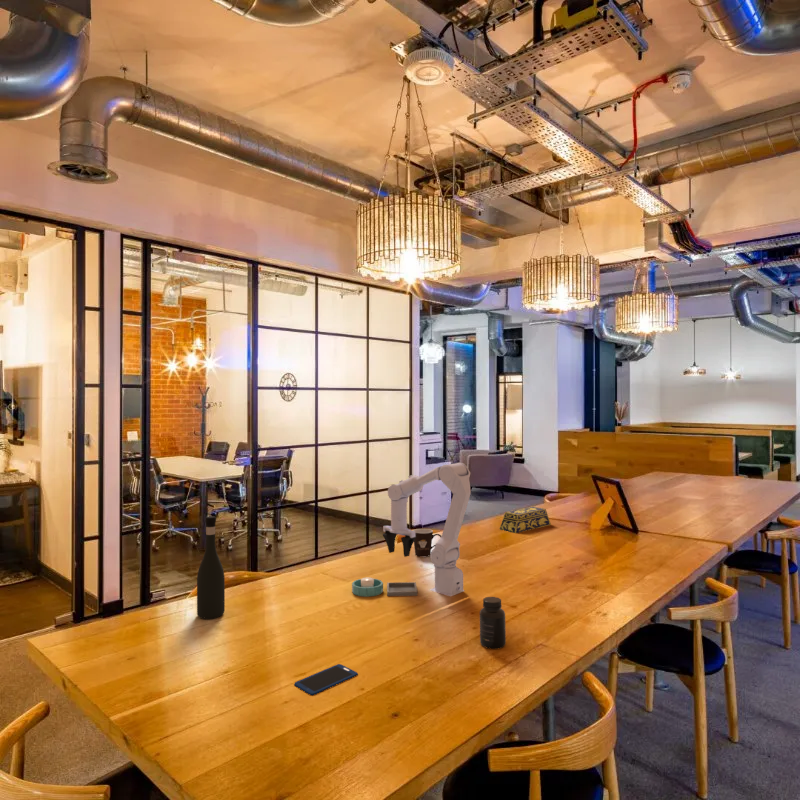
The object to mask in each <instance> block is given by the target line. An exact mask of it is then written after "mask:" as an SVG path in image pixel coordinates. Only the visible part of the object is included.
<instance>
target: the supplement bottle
mask: <svg viewBox="0 0 800 800" xmlns="http://www.w3.org/2000/svg"><path fill="white" fill-rule="evenodd" d="M506 635H507V634H506V613H505V610H504V609H502V599H501V598H500V597H497V596H487V597H484V598H483V600H482V608H481V609H480V610H479V641H480V645H481V646H483V648H486V647H487V648H486V649H490V648H491V649H492V650H497V649H498V648H499V649H502V648H505V645H506V643H507V641H506V640H507V639H506ZM491 649H490V650H491Z"/></svg>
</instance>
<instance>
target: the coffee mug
mask: <svg viewBox="0 0 800 800" xmlns="http://www.w3.org/2000/svg"><path fill="white" fill-rule="evenodd" d="M412 531H415V537H416V539H415V540H414V542H413V547H414V553H415V554H414V555H415V556H416V555H417V557H420V556H426V557H429V556H428V555H430V554H431V551H432V550H433V549H434V548H435V546H436V543H435V544H433V545H432V541H433V539H434V538H435V536H439V537H440V538H441V537H442V535H441V534H439V533H434V534H433V532H434V530H432V529H431V528H416V529H413V530H412ZM440 538H439V539H440Z"/></svg>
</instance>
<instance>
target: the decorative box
mask: <svg viewBox="0 0 800 800" xmlns="http://www.w3.org/2000/svg"><path fill="white" fill-rule="evenodd" d="M551 525H552V523H551V520H550V517H549V514H548V512H547V508H543V507H536V506H529V507H524V508H518V509H517V508H516V509H512V510H509V511H505V512H504V514H503V517H502V520H501V523H500V527H499V529H500V530H499V531H503V530H504V532H507V531H508V533H513V534H520V533H523V531H524V532H526V531H527V530H528V531H531V529H532V530H535V528H536V529H540V528H544V527H548V526H551ZM519 532H520V533H519Z"/></svg>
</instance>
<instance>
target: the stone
mask: <svg viewBox="0 0 800 800" xmlns="http://www.w3.org/2000/svg"><path fill="white" fill-rule="evenodd" d="M360 579H361V587H366V588H368V587H374V579H375V578H374V577H362V578H360Z"/></svg>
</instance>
